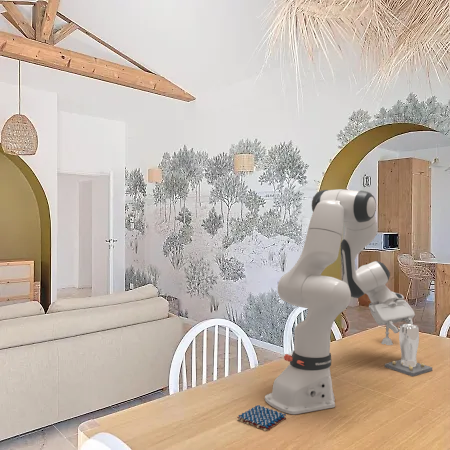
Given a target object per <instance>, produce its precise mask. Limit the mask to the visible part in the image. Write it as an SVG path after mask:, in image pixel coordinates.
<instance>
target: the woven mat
mask: <svg viewBox="0 0 450 450" xmlns="http://www.w3.org/2000/svg"><path fill="white" fill-rule="evenodd" d="M286 416H287V413H284V412H282V411H279V412H278V410H274V409H272V408H269V407H265V406H263V405H259V404H258V405H255V406H254V407H251V408H249V409H248V410H246V411H244V412H241V414H238V416H237V419H238V420H237V422H241V423H243V424H244V425H245V424H246V425H250V426H252V427H254V428H256V429H259V430H260V431H261V430H263V431H264V432H267V431H268V430H271V429H272V428H273V427H275V426H277V425H279V423H281V422H283V421H284V420H286V419H287V417H286Z"/></svg>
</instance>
